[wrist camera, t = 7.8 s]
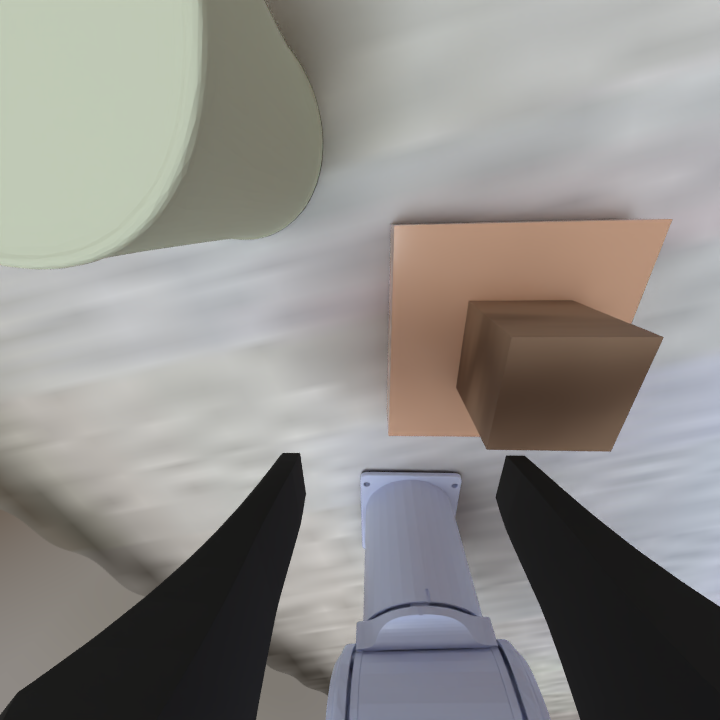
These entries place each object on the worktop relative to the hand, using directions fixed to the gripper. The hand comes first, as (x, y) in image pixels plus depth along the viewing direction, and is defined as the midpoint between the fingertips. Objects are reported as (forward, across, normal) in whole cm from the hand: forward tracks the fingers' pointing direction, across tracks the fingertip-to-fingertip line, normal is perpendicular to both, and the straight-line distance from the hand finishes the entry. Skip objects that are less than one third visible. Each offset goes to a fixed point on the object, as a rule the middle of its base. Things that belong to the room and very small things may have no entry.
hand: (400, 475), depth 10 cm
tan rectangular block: (+10, -6, -2) cm, 12 cm away
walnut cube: (+7, -6, -2) cm, 10 cm away
